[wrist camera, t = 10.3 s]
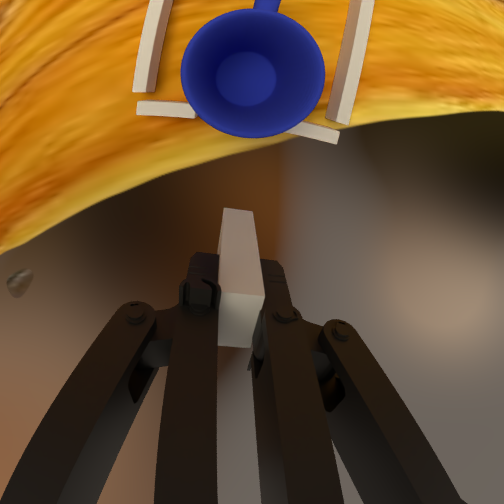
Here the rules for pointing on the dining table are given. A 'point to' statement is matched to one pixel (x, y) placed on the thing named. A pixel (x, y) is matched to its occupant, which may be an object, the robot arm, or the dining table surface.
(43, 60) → the dining table surface
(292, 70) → the mug
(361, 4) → the beige rectangular bars
